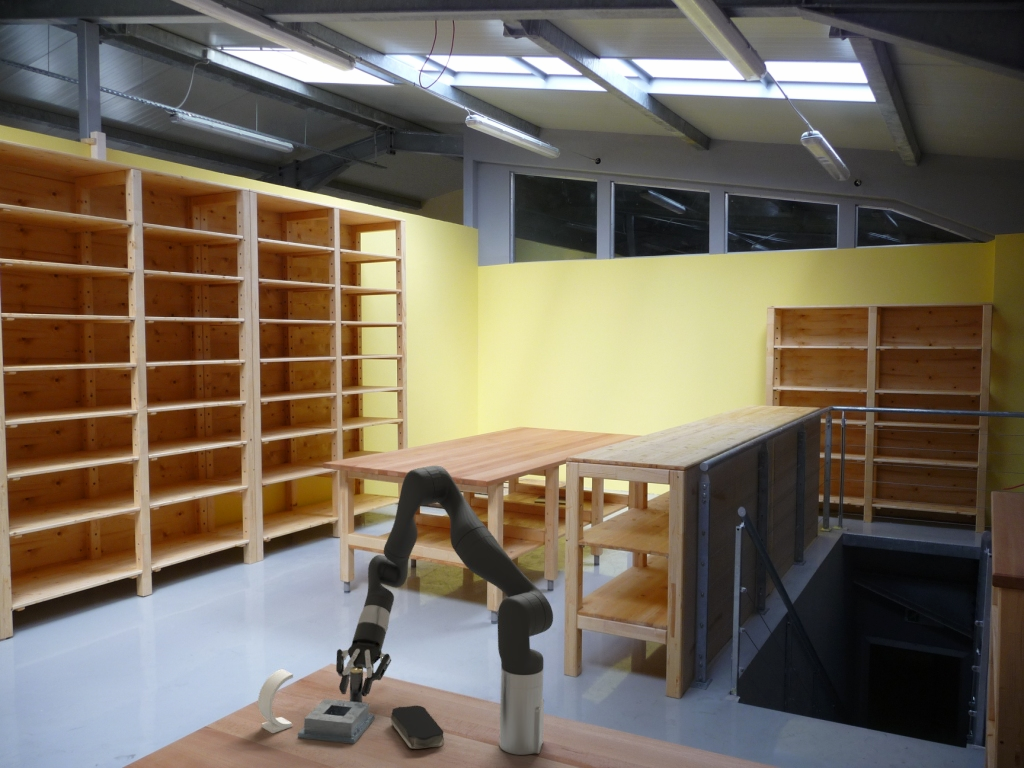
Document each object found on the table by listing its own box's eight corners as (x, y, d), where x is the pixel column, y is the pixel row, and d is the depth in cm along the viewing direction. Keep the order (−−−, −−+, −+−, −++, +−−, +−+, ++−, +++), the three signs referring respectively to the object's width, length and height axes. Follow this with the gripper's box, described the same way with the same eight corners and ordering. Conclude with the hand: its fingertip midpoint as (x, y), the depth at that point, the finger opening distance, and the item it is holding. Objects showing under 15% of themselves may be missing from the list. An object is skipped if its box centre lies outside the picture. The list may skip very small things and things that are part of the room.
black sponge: (388, 724, 190) (388, 708, 190) (423, 718, 193) (423, 702, 193) (410, 755, 175) (410, 738, 175) (447, 748, 179) (447, 731, 178)
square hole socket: (374, 719, 192) (374, 701, 192) (353, 743, 179) (354, 725, 179) (321, 713, 194) (322, 696, 194) (297, 737, 181) (298, 719, 181)
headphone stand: (292, 726, 187) (293, 674, 186) (268, 735, 182) (269, 681, 182) (281, 720, 190) (282, 668, 189) (257, 728, 185) (258, 675, 185)
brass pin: (364, 705, 199) (364, 666, 199) (359, 710, 196) (360, 671, 196) (352, 704, 199) (353, 665, 199) (347, 709, 196) (348, 670, 196)
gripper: (341, 618, 206) (320, 684, 194) (395, 623, 203) (378, 690, 192) (348, 633, 211) (329, 697, 200) (402, 637, 209) (385, 703, 197)
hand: (353, 693), depth 196 cm, fingers open, 4 cm apart
